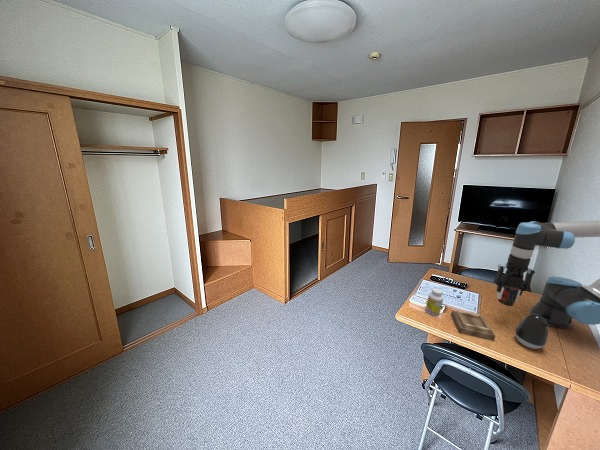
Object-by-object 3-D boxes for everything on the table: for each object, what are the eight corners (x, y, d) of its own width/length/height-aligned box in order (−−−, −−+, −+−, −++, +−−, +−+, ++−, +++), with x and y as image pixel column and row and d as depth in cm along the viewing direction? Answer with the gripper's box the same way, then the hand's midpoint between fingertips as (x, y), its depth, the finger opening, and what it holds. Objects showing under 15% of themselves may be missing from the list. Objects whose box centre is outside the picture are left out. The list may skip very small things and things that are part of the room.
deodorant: (516, 306, 116) (525, 278, 112) (502, 305, 118) (510, 277, 113) (508, 300, 122) (517, 273, 118) (495, 298, 123) (503, 271, 119)
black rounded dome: (525, 352, 104) (537, 322, 99) (507, 334, 114) (517, 307, 109) (550, 354, 104) (563, 324, 99) (529, 336, 113) (540, 308, 109)
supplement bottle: (423, 307, 131) (427, 286, 128) (435, 308, 131) (440, 287, 127) (428, 315, 125) (433, 293, 121) (441, 316, 125) (447, 294, 121)
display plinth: (482, 321, 123) (484, 314, 121) (494, 340, 110) (496, 333, 109) (450, 314, 126) (452, 308, 125) (459, 332, 114) (461, 325, 112)
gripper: (540, 255, 114) (525, 298, 120) (492, 249, 119) (481, 291, 125) (550, 262, 107) (534, 307, 113) (499, 255, 112) (487, 299, 118)
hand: (506, 299), depth 119 cm, fingers closed on deodorant, 6 cm apart
